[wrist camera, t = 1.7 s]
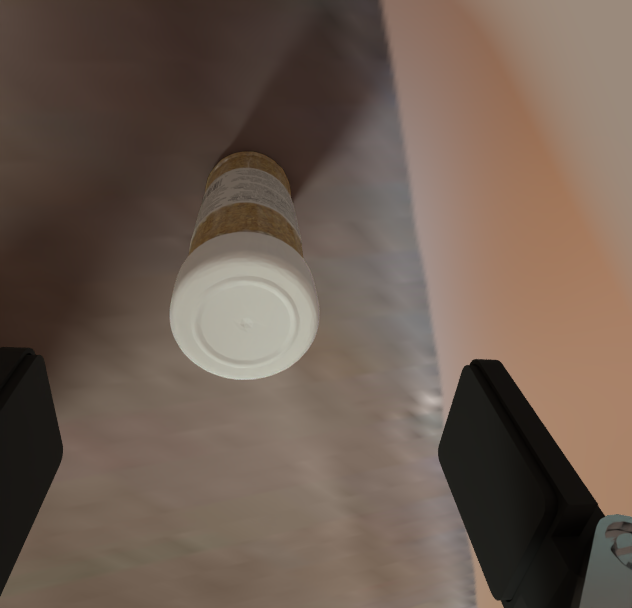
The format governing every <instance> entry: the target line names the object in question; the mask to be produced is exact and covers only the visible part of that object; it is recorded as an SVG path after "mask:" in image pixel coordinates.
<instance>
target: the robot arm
mask: <svg viewBox="0 0 632 608" xmlns="http://www.w3.org/2000/svg"><path fill="white" fill-rule="evenodd" d="M62 455H63V445H62V440H61V435H60V431H59V426H58V422H57V417H56V413H55V408H54V403H53V399H52V394H51V390H50V385H49V381H48V376H47V372H46V367H45V362H44V359H43V357H42V356H41V355H35V352H34V351H33V349H31V348H14V347H1V348H0V596H1V594H2V591H3V589H4V587H5V585H6V583H7V580H8V578H9V576H10V574H11V571H12V569H13V567H14V565H15V563H16V560H17V558H18V556H19V554H20V552H21V549H22V547H23V545H24V543H25V540H26V538H27V536H28V534H29V532H30V529H31V527H32V525H33V523H34V521H35V518H36V516H37V514H38V512H39V509H40V507H41V505H42V503H43V501H44V498H45V496H46V494H47V492H48V490H49V487H50V485H51V483H52V481H53V479H54V476H55V474H56V472H57V470H58V467H59V465H60V463H61V460H62ZM438 457H439V461H440V464H441V467H442V469H443V472H444V474H445V477H446V479H447V482H448V484H449V487H450V490H451V492H452V495H453V497H454V500H455V502H456V505H457V507H458V510H459V512H460V515H461V518H462V520H463V523H464V525H465V528H466V530H467V533H468V535H469V538H470V540H471V543H472V545H473V548H474V551H475V553H476V556H477V558H478V561H479V563H480V566H481V568H482V571H483V573H484V576H485V578H486V581H487V584H488V586H489V588H490V591H491V593H492V595H493V597H494V598H495V599H496V600H501V602H502V604H503V607H504V608H632V517H630V516H624V515H619V514H616V515H607V516H605V515H604V514H603V512H602V511H601V509H600V508H599V507H598V504H597V502H596V501H595V499H594V498H593V497H592V495H591V493H590V492H589V491H588V489H587V487H586V486H585V485H584V483H583V482H582V480H581V479H580V477H579V476H578V474H577V473H576V471H575V470H574V468H573V467H572V465H571V464H570V463H569V461H568V460H567V458H566V457H565V455H564V454H563V452H562V451H561V449H560V448H559V446H558V445H557V444H556V442H555V441H554V439H553V438H552V436H551V435H550V433H549V432H548V430H547V429H546V427H545V426H544V424H543V423H542V422H541V420H540V419H539V417H538V416H537V414H536V413H535V411H534V410H533V408H532V407H531V405H530V404H529V403H528V401H527V400H526V398H525V397H524V395H523V394H522V392H521V391H520V389H519V388H518V386H517V385H516V384H515V382H514V381H513V379H512V378H511V376H510V375H509V373H508V372H507V370H506V369H505V368H504V366H503V364H502V363H501V362H500V361H498V360H483V359H475V360H472V362H471V363H470V365H466V366H464V368H463V370H462V373H461V376H460V379H459V383H458V386H457V389H456V392H455V396H454V399H453V402H452V405H451V408H450V412H449V415H448V418H447V421H446V424H445V428H444V431H443V434H442V437H441V441H440V444H439V448H438Z"/></svg>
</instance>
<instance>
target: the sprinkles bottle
mask: <svg viewBox="0 0 632 608" xmlns="http://www.w3.org/2000/svg"><path fill="white" fill-rule="evenodd" d="M301 245H302V241H301V236H300V232H299V227H298V222H297V218H296V214H295V210H294V205H293V202H292V199H291V189H290V184H289V181H288V179H287V177H286V175H285V173H284V171H283V169H282V168H281V167H280V166H279V165H278V164H277V163H276V162H275V161H274V160H272V159H271V158H269V157H267V156H266V155H263V154H260V153H257V152H254V151H251V152H247V151H243V152H238V153H234V154H231V155H229V156H227V157H225V158H223V159H222V160H221V161H219V163H218V164H217V165H216V166H215V167H214V168H213V170H212V172H211V173H210V174H209V177H208V179H207V184H206V188H205V194H204V197H203V200H202V204H201V207H200V210H199V213H198V217H197V220H196V224H195V228H194V232H193V235H192V239H191V243H190V248H189V255H188V257H187V259H186V260H185V261H184V263H183V265H182V266H181V268H180V270H179V273H178V275H177V279H176V282H175V286H174V290H173V294H172V299H171V304H170V325H171V329H172V333H173V335H174V338H175V340H176V342H177V344H178V345H179V347H180V349H181V350H182V351H183V353H184V354H185V355H186V356H187V357H188V358H189V359H190V360H191V361H193V362H194V363H195V364H196V365H198V366H199V367H201V368H202V369H204V370H206V371H208V372H210V373H213V374H215V375H218V376H221V377H225V378H229V379H237V380H250V379H259V378H264V377H268V376H271V375H274V374H276V373H279V372H281V371H283V370H285V369H287V368H288V367H290V366H291V365H293V364H294V363H295V362H297V361H298V360H299V359H300V358H301V357H302V356H303V355H304V354H305V353H306V351H307V350H308V349H309V347H310V346H311V344H312V342H313V340H314V338H315V336H316V333H317V330H318V326H319V316H320V311H319V302H318V296H317V292H316V287H315V283H314V279H313V276H312V273H311V271H310V269H309V267H308V265H307V264H306V262H305V260H304V259H303V254H302V247H301Z"/></svg>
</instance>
